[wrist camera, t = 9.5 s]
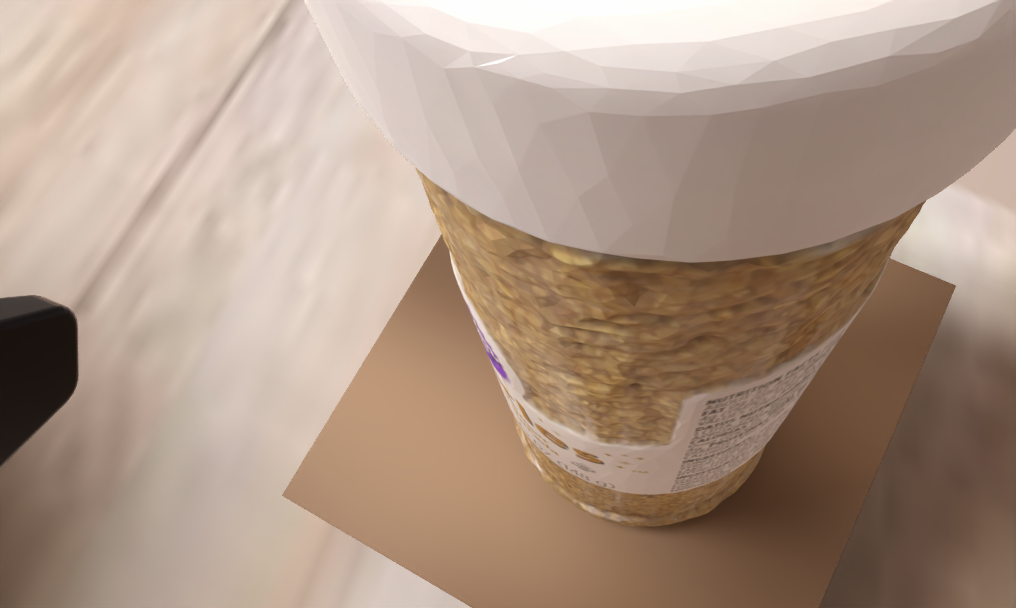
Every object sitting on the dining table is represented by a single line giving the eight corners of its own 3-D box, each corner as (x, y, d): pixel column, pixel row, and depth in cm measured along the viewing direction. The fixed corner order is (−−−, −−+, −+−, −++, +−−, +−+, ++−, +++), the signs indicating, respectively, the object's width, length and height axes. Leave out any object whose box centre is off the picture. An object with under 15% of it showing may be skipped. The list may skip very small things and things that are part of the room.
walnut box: (723, 746, 18) (749, 770, 14) (344, 524, 20) (281, 495, 17) (895, 353, 20) (955, 285, 16) (537, 196, 23) (519, 106, 19)
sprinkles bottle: (468, 375, 17) (37, -403, 4) (668, 241, 17) (779, -798, 5) (615, 589, 15) (578, 300, 3) (830, 434, 16) (1607, -391, 3)
